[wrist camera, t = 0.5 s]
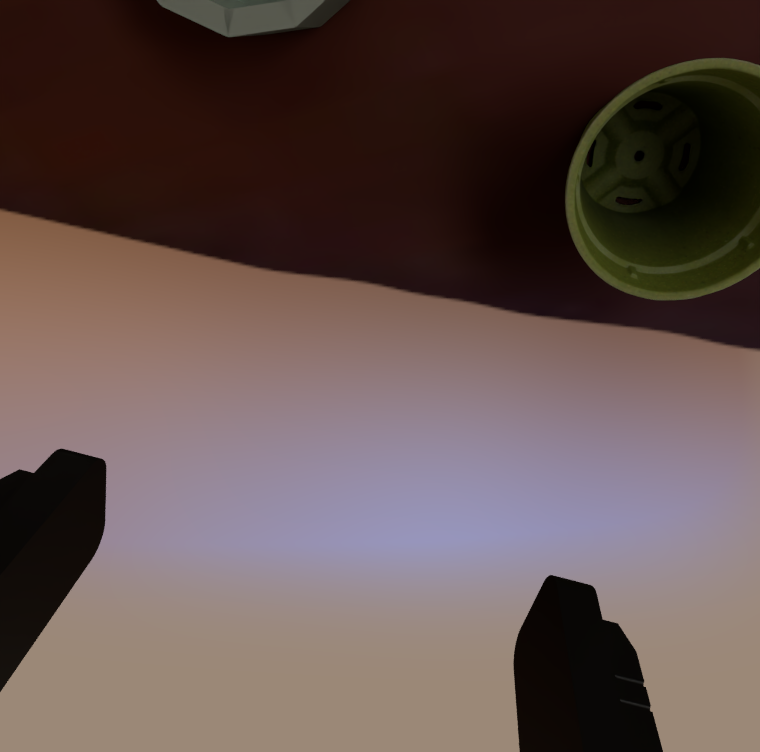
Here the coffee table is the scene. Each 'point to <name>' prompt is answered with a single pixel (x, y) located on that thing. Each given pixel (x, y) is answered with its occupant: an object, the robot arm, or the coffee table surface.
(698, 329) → the coffee table surface
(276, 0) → the bowl
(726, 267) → the plant pot
